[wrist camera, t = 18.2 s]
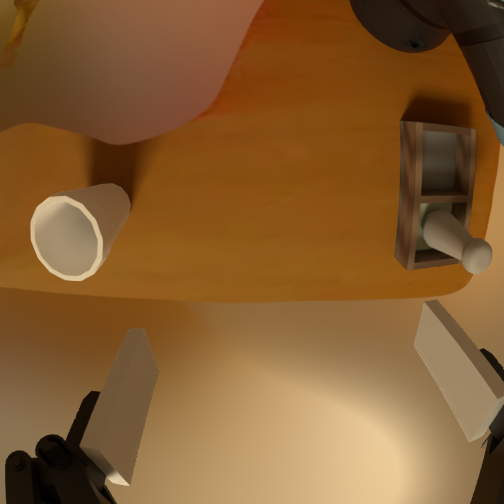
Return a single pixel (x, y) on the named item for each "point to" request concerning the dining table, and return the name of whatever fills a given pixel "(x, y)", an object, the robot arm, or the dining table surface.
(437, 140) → the wooden compartment tray
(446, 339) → the robot arm
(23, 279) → the dining table surface
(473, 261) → the salt shaker
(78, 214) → the foam cup
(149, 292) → the dining table surface
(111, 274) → the dining table surface
